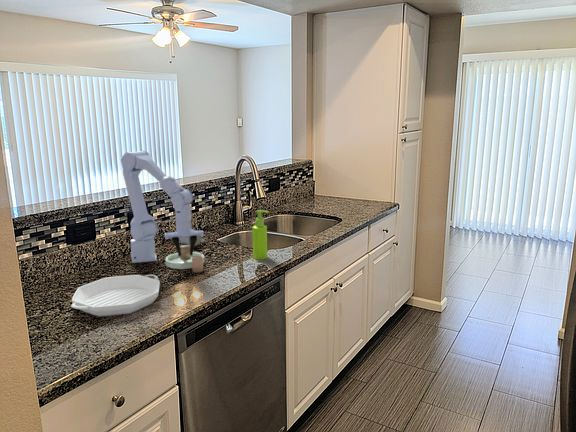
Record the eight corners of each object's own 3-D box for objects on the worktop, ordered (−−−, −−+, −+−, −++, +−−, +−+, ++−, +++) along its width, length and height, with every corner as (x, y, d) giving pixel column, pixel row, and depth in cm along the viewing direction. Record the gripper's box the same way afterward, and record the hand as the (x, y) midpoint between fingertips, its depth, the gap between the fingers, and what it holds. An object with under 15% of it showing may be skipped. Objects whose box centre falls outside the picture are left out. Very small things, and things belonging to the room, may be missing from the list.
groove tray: (166, 270, 172) (166, 265, 171) (165, 258, 186) (165, 253, 185) (206, 266, 176) (205, 261, 176) (202, 255, 190) (201, 250, 190)
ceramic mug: (189, 248, 200) (189, 231, 198) (178, 245, 205) (178, 228, 204) (208, 243, 208) (208, 227, 206) (197, 240, 213) (197, 224, 211)
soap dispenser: (267, 260, 184) (267, 212, 180) (251, 258, 186) (250, 211, 181) (271, 255, 190) (270, 209, 185) (255, 254, 191) (254, 208, 187)
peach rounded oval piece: (193, 272, 169) (192, 260, 168) (192, 269, 173) (191, 257, 172) (203, 271, 170) (203, 259, 169) (202, 268, 174) (202, 256, 173)
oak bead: (180, 260, 174) (180, 248, 173) (180, 257, 178) (179, 245, 177) (191, 259, 175) (190, 247, 174) (190, 256, 179) (189, 244, 178)
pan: (131, 279, 163) (130, 268, 162) (183, 293, 150) (182, 281, 149) (49, 311, 137) (47, 297, 136) (103, 331, 124) (101, 316, 123)
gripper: (164, 225, 168) (166, 259, 171) (203, 222, 172) (205, 256, 175) (163, 220, 174) (166, 254, 177) (201, 218, 178) (203, 251, 181)
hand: (185, 255), depth 176 cm, fingers closed on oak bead, 4 cm apart
